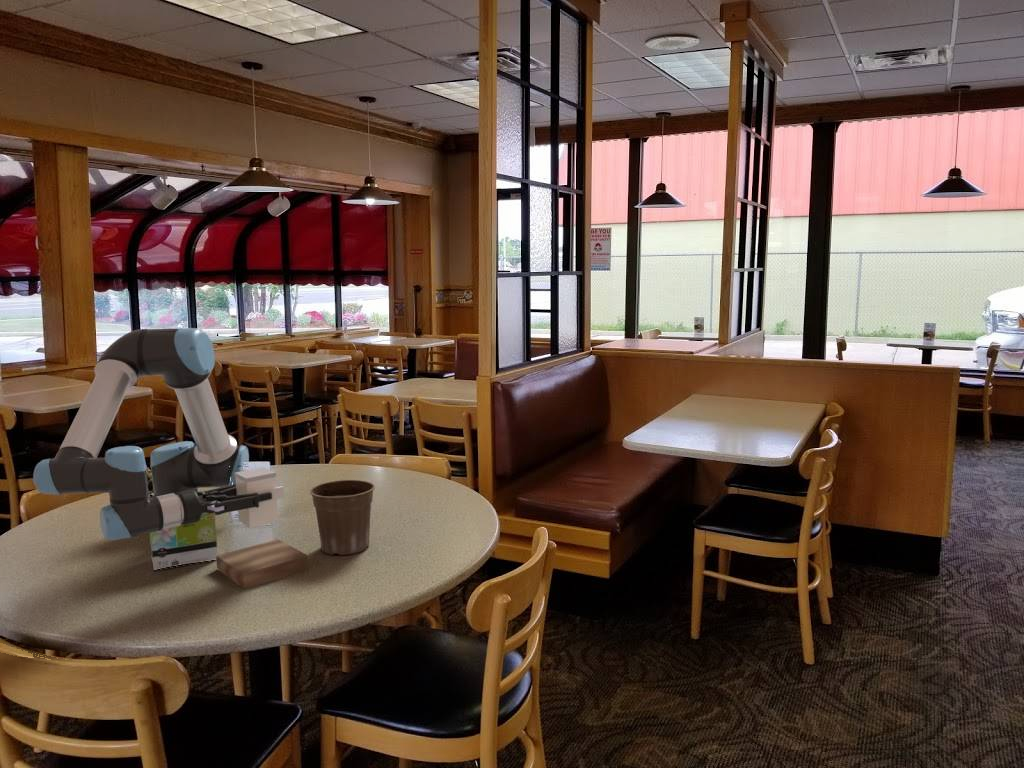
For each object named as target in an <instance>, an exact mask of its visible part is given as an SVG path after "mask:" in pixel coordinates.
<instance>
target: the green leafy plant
mask: <svg viewBox="0 0 1024 768" xmlns="http://www.w3.org/2000/svg"><path fill="white" fill-rule="evenodd" d="M146 471H147V482H148V495H149V498H151V496H150V495H151V494H152V493H154V491H153V482H152V473H151V469H146Z"/></svg>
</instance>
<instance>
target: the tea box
mask: <svg viewBox="0 0 1024 768" xmlns="http://www.w3.org/2000/svg"><path fill="white" fill-rule="evenodd" d="M148 534H149V546H150V554H151V555H150V556H151V562H152V565H153V566H152V567H153V570H154V569H158V568H164V567H170V566H175V565H180V564H187V563H194V562H200V561H206V560H212V559H216V556H217V555H218V542H217V541H218V540H217V527H216V515H215V513H207V512H206V513H202V515H201V518H200V520H199V522H196V523H192V524H187V525H182V524H180V526H178V527H173V528H169V530H168V531H165V530H160V531H155V532H151V533H148ZM170 568H171V567H170Z"/></svg>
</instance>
